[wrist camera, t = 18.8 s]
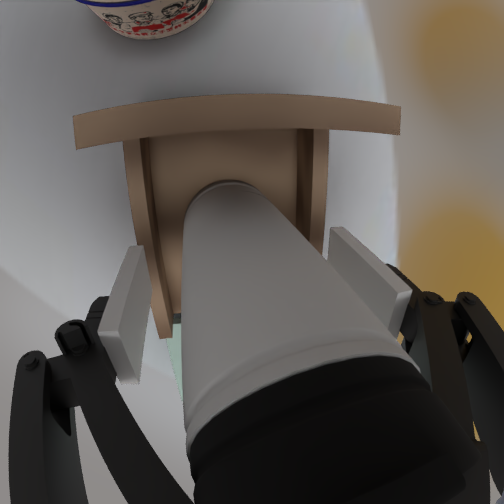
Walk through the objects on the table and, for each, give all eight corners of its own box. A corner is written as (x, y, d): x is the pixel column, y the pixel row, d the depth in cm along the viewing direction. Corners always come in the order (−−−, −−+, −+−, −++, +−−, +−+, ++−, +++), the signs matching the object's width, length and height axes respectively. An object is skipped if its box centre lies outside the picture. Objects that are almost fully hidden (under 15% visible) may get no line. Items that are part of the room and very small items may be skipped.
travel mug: (268, 168, 20) (555, 401, 2) (273, 255, 23) (426, 516, 5) (176, 181, 19) (141, 578, 1) (191, 268, 22) (231, 580, 4)
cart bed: (137, 113, 18) (72, 115, 8) (301, 105, 20) (400, 106, 10) (163, 300, 25) (155, 416, 15) (296, 285, 27) (350, 385, 17)
